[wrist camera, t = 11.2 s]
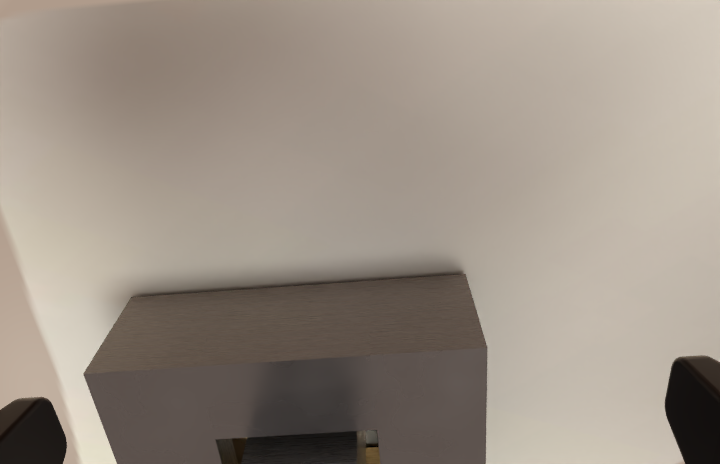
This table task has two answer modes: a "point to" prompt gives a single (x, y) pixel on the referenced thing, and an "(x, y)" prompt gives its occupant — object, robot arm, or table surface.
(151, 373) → the slotted bridge-shaped block
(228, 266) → the table surface
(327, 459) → the tall square pillar
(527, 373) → the table surface
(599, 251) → the table surface
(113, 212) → the table surface
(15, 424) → the robot arm
